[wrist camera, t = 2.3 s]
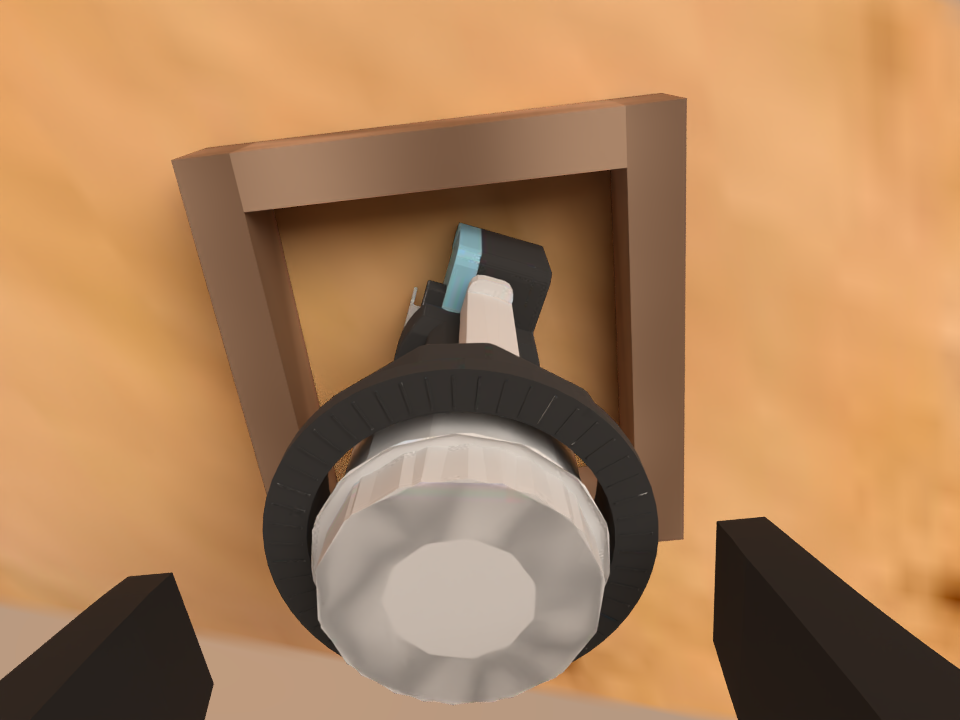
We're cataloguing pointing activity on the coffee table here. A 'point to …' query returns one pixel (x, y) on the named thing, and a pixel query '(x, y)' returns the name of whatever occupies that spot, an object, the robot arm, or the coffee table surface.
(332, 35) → the coffee table surface
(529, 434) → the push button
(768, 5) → the coffee table surface
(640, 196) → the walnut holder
